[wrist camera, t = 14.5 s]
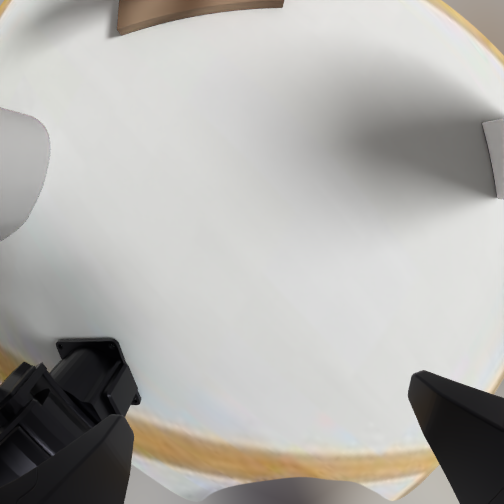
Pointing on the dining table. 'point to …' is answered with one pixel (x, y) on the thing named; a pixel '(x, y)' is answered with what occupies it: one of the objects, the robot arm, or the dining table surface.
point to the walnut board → (178, 10)
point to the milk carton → (496, 151)
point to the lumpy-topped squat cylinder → (20, 167)
